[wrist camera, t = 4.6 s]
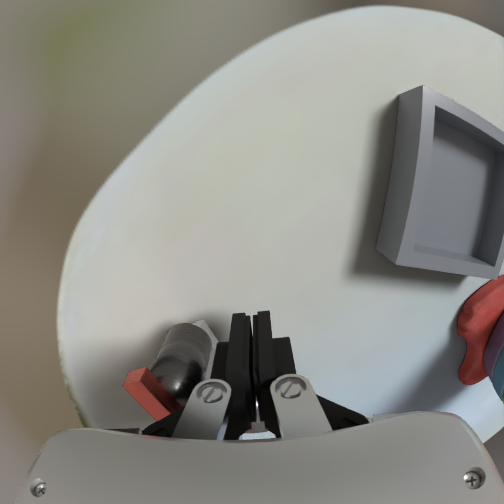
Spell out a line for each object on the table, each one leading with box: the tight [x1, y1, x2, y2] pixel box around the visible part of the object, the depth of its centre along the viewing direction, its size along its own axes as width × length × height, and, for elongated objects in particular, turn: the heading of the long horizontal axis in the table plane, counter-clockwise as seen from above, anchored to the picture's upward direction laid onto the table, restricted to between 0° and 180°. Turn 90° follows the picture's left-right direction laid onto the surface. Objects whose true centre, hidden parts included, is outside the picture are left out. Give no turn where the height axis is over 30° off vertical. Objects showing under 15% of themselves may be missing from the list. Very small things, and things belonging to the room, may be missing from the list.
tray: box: [375, 85, 504, 280], centre depth 12 cm, size 9×9×3 cm
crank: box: [122, 319, 267, 433], centre depth 12 cm, size 11×4×6 cm, turn 26°
